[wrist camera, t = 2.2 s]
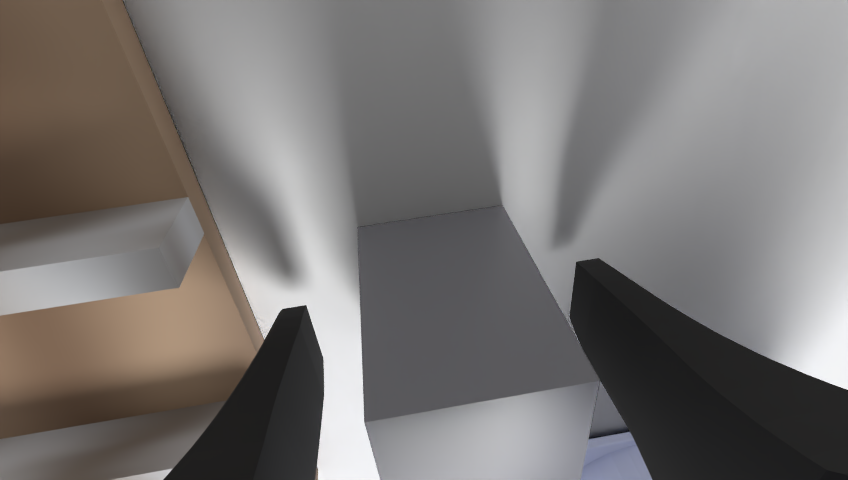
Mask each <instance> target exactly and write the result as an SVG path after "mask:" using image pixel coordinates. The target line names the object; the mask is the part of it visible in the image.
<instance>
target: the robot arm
mask: <svg viewBox="0 0 848 480" xmlns="http://www.w3.org/2000/svg"><path fill="white" fill-rule="evenodd" d="M570 320H571V322H572V325H573V327H574V330H575V332H576V335H577V337H578V339H579V342H580V344H581V346H582V349H583V351H584V353H585V354H586V356H587V358H588V360H589V361H590V363H591V365H592V367H593V368H594V370H595V372H596V374H597V375H598V377H599V379H600V381H601V382H602V384H603V386H604V387H605V389H606V391H607V393H608V394H609V396H610V398H611V399H612V401H613V403H614V405H615V406H616V408H617V410H618V411H619V413H620V415H621V416H622V418H623V420H624V422H625V423H626V425H627V427H628V429H629V431H630V432H626V433H620V434H615V435H609V436H604V437H599V438H593V439H588V445H587V450H586V455H585V460H584V465H583V470H582V475H581V480H848V390H846V389H843V388H841V387H838V386H835V385H832V384H830V383H827V382H824V381H822V380H819V379H817V378H814V377H812V376H809V375H806V374H804V373H802V372H799V371H797V370H795V369H792V368H790V367H787V366H785V365H783V364H780V363H778V362H776V361H773V360H771V359H769V358H767V357H765V356H762V355H760V354H758V353H756V352H754V351H752V350H750V349H748V348H746V347H744V346H742V345H740V344H738V343H736V342H734V341H732V340H730V339H728V338H726V337H724V336H722V335H720V334H718V333H716V332H714V331H712V330H711V329H709V328H707V327H705V326H704V325H702V324H700V323H698V322H697V321H695V320H693V319H691V318H690V317H688V316H686V315H685V314H683V313H681V312H680V311H678V310H676V309H675V308H673V307H671V306H670V305H668V304H667V303H665V302H664V301H662V300H660V299H659V298H657V297H656V296H654V295H653V294H651V293H650V292H648V291H647V290H645V289H644V288H642V287H641V286H639V285H638V284H636V283H635V282H633V281H632V280H630V279H629V278H627V277H626V276H624V275H623V274H621V273H620V272H619V271H617V270H616V269H614V268H613V267H611V266H610V265H608V264H607V263H605V262H603V261H602V260H600V259H599V258H597V259H591V260H585V261H579V262H576V269H575V277H574V285H573V293H572V302H571V310H570ZM323 400H324V368H323V356H322V353H321V350H320V347H319V344H318V341H317V338H316V335H315V332H314V328H313V325H312V322H311V319H310V316H309V313H308V310H307V307H306V305H305V306H299V307H292V308H286V309H282V310H281V311H280V313H279V314H278V316H277V318H276V320H275V322H274V324H273V325H272V327H271V329H270V331H269V333H268V335H267V336H266V338H265V340H264V342H263V343H262V345H261V347H260V349H259V350H258V352H257V354H256V356H255V357H254V359H253V360H252V362H251V364H250V365H249V367H248V369H247V370H246V372H245V374H244V375H243V377H242V378H241V380H240V381H239V383H238V384H237V386H236V387H235V389H234V390H233V392H232V393H231V395H230V396H229V398H228V399H227V401H226V402H225V403H224V405H223V406H222V408H221V409H220V411H219V412H218V413H217V415H216V416H215V418H214V419H213V420H212V422H211V423H210V424H209V426H208V427H207V428H206V429H205V431H204V432H203V433H202V435H201V436H200V437H199V438H198V440H197V441H196V442H195V443H194V445H193V446H192V447H191V448H190V449H189V451H188V452H187V453H186V454H185V455H184V456H183V458H182V459H181V460H180V461H179V462H178V463H177V464H176V466H175V467H174V468H173V469H172V470H171V471H170V473H169V474H168V475H167V476H166V477H165V478H164V479H163V480H315V477H316V468H317V458H318V449H319V439H320V430H321V420H322V410H323Z"/></svg>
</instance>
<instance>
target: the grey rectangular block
mask: <svg viewBox="0 0 848 480" xmlns="http://www.w3.org/2000/svg"><path fill="white" fill-rule="evenodd" d="M358 254H359V282H360V310H361V338H362V366H363V394H364V422H365V426H366V430H367V433H368V437H369V440H370V444H371V448H372V451H373V455H374V458H375V462H376V466H377V469H378V473H379V476H380V480H581V475H582V470H583V465H584V460H585V455H586V450H587V445H588V439H589V434H590V429H591V424H592V419H593V414H594V409H595V404H596V398H597V393H598V388H599V383H600V380H599V378H598V376H597V374H596V373H595V371H594V369H593V367H592V365H591V364H590V362H589V360H588V358H587V356H586V355H585V353H584V351H583V349H582V347H581V346H580V344H579V342H578V340H577V338H576V337H575V335H574V333H573V331H572V330H571V328H570V326H569V324H568V322H567V321H566V319H565V317H564V315H563V313H562V312H561V310H560V308H559V306H558V304H557V303H556V301H555V299H554V297H553V295H552V294H551V292H550V290H549V288H548V286H547V285H546V283H545V281H544V279H543V277H542V276H541V274H540V272H539V270H538V268H537V267H536V265H535V263H534V261H533V259H532V258H531V256H530V254H529V252H528V250H527V249H526V247H525V245H524V243H523V241H522V240H521V238H520V236H519V234H518V232H517V231H516V229H515V227H514V225H513V223H512V222H511V220H510V218H509V216H508V214H507V213H506V211H505V209H504V207H503V205H501V206H495V207H488V208H481V209H475V210H468V211H462V212H455V213H448V214H442V215H435V216H429V217H422V218H415V219H409V220H402V221H396V222H389V223H382V224H376V225H369V226H363V227H358Z"/></svg>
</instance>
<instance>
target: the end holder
mask: <svg viewBox="0 0 848 480" xmlns="http://www.w3.org/2000/svg"><path fill="white" fill-rule="evenodd" d="M263 342H264V339H263V337H262V334H261V332H260V330H259V327H258V325H257V322H256V320H255V318H254V315H253V313H252V310H251V308H250V306H249V303H248V301H247V298H246V296H245V294H244V291H243V289H242V286H241V284H240V282H239V279H238V277H237V274H236V272H235V270H234V267H233V265H232V262H231V260H230V258H229V255H228V253H227V250H226V248H225V246H224V243H223V241H222V238H221V236H220V234H219V231H218V229H217V226H216V224H215V222H214V219H213V217H212V214H211V212H210V210H209V207H208V205H207V202H206V200H205V197H204V195H203V193H202V190H201V188H200V185H199V183H198V181H197V178H196V176H195V173H194V171H193V169H192V166H191V164H190V161H189V159H188V157H187V154H186V152H185V149H184V147H183V145H182V142H181V140H180V137H179V135H178V133H177V130H176V128H175V125H174V123H173V121H172V118H171V116H170V113H169V111H168V109H167V106H166V104H165V101H164V99H163V97H162V94H161V92H160V89H159V87H158V85H157V82H156V80H155V77H154V75H153V73H152V70H151V68H150V65H149V63H148V61H147V58H146V56H145V53H144V51H143V49H142V46H141V44H140V41H139V39H138V37H137V34H136V32H135V29H134V27H133V25H132V22H131V20H130V17H129V15H128V13H127V10H126V8H125V5H124V3H123V1H122V0H0V480H163V479H164V478H165V477H166V476H167V475H168V474H169V473H170V471H171V470H172V469H173V468H174V467H175V466H176V464H177V463H178V462H179V461H180V460H181V459H182V458H183V456H184V455H185V454H186V453H187V452H188V451H189V449H190V448H191V447H192V446H193V445H194V443H195V442H196V441H197V440H198V438H199V437H200V436H201V435H202V433H203V432H204V431H205V429H206V428H207V427H208V426H209V424H210V423H211V422H212V420H213V419H214V418H215V416H216V415H217V413H218V412H219V411H220V409H221V408H222V406H223V405H224V403H225V402H226V401H227V399H228V398H229V396H230V395H231V393H232V392H233V390H234V389H235V387H236V386H237V384H238V383H239V381H240V380H241V378H242V377H243V375H244V374H245V372H246V370H247V369H248V367H249V365H250V364H251V362H252V360H253V359H254V357H255V356H256V354H257V352H258V350H259V349H260V347H261V345H262V343H263ZM315 480H318V469H317V468H316V477H315Z"/></svg>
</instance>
